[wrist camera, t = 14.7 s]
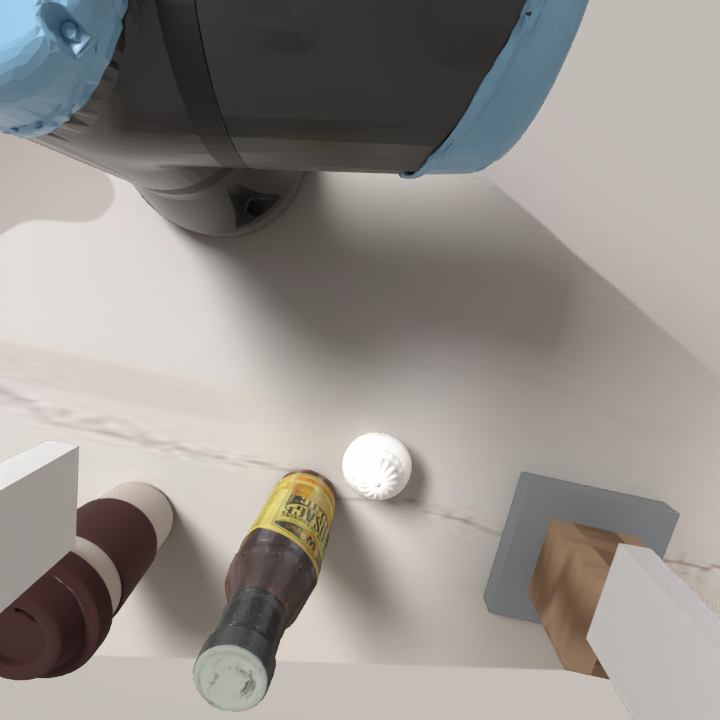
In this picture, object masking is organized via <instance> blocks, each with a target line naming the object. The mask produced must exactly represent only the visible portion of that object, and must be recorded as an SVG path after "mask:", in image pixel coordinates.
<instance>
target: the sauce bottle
mask: <svg viewBox="0 0 720 720" xmlns="http://www.w3.org/2000/svg"><path fill="white" fill-rule="evenodd" d="M334 513H335V496H334V491H333V488H332V486H331V485H330V483H329V481H328V480H327V479H326V478H325V477H323V476H322V475H320V474H318V473H316V472H314V471H311V470H299V471H295V472H291V473H289V474H287V475H286V476H285V477H284V478H283V479H282V480H281V481H279V482H278V484H277V485H276V486H275V487H274V489H273V491H272V493H271V494H270V496H269V498H268V499H267V501H266V503H265V505H264V506H263V508H262V510H261V511H260V513H259V515H258V516H257V518H256V520H255V521H254V523H253V525H252V527H251V528H250V530H249V531H248V533H247V535H246V536H245V538H244V540H243V542H242V544H241V546H240V549H239V551H238V553H237V554H236V555H235V557H234V559H233V561H232V563H231V564H230V567H229V570H228V573H227V576H226V581H225V592H226V597H227V602H228V604H227V606H226V607H225V610H224V613H223V617H222V619H221V621H220V623H219V625H218V627H217V628H216V630H215V632H214V633H213V634H212V635H210V637H209V638H208V639H207V640H206V642H205V644H204V645H203V647H202V649H201V651H200V653H199V656H198V658H197V660H196V663H195V666H194V670H193V675H194V683H195V685H196V688H197V690H198V692H199V693H200V695H201V696H202V697H203V698H204V699H205V700H206V701H207V702H208V703H209V704H210V705H212V706H214V707H216V708H218V709H220V710H224V711H232V712H241V711H245V710H248V709H250V708H252V707H254V706H256V705H257V704H258V703H259V702H260V701H261V700H262V699H263V698H264V696H265V695H266V693H267V690H268V687H269V685H270V682H271V680H272V678H273V675H274V670H275V667H276V659H275V656H276V652H277V649H278V646H279V643H280V639H281V638H282V636H283V634H284V631H285V629H287V628H288V627H290V626H291V624H293V623H294V621H295V620H296V618H297V617H298V615H299V613H300V611H301V610H302V608H303V606H304V605H305V603H306V601H307V600H308V598H309V596H310V595H311V593H312V591H313V590H314V588H315V586H316V584H317V580H318V577H319V573H320V569H321V564H322V561H323V557H324V554H325V549H326V546H327V542H328V538H329V533H330V529H331V525H332V520H333V517H334Z"/></svg>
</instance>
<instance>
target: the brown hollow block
mask: <svg viewBox="0 0 720 720" xmlns="http://www.w3.org/2000/svg"><path fill="white" fill-rule="evenodd" d="M619 543H622V544H628V545H634V546H639V547H645V548H647V547H646V546H645V545H644V544H643V543H642V542H641V541H640V540H639V539H638V538H637V537H635V536H631V535H626V534H622V533H617V532H612V531H608V530H603V529H599V528H594V527H590V526H585V525H580V524H576V523H571V522H567V521H562V520H557V519H553V518H551V521H550V524H549V527H548V530H547V533H546V536H545V539H544V542H543V545H542V548H541V551H540V554H539V557H538V560H537V563H536V566H535V569H534V572H533V576H532V579H531V582H530V585H529V588H528V591H527V594H528V596H529V598H530V600H531V602H532V604H533V606H534V608H535V610H536V612H537V614H538V616H539V618H540V620H541V622H542V624H543V626H544V628H545V630H546V632H547V634H548V636H549V638H550V640H551V642H552V644H553V646H554V648H555V650H556V652H557V654H558V656H559V658H560V660H561V662H562V664H563V667H564V669H565V670H569V671H573V672H578V673H582V674H587V675H592V676H596V677H601V678H606V679H609V677H608V675H607V673H606V672H605V670H604V668H603V666H602V665H601V663H600V661H599V660H598V658H597V656H596V654H595V653H594V651H593V649H592V648H591V646H590V644H589V642H588V641H587V639H586V637H587V634H588V631H589V628H590V625H591V623H592V620H593V617H594V614H595V611H596V608H597V605H598V602H599V599H600V596H601V593H602V591H603V588H604V585H605V582H606V579H607V576H608V573H609V570H610V567H611V564H612V562H613V559H614V556H615V553H616V550H617V547H618V544H619Z"/></svg>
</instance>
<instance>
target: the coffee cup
mask: <svg viewBox="0 0 720 720" xmlns="http://www.w3.org/2000/svg"><path fill="white" fill-rule="evenodd" d="M172 525H173V511H172V508H171V505H170V503H169V501H168V500H167V499H166V497H165V496H164V495H163V494H162V493H161V492H160V491H159V490H157V489H156V488H154V487H152V486H150V485H147V484H144V483H137V482H131V483H126V484H122V485H120V486H118V487H116V488H114V489H112V490H111V491H109V492H108V493H106V494H105V495H103V496H102V497H100V498H98V499H97V500H93V501H91V502H88V503H87V504H85V505H83V506H82V507H80V508H78V509H77V520H76V546H75V547H74V548H73V549H72V550H70V551H69V552H68V553H67V554H66V555H65V556H64V557H63V558H62V559H60V560H59V561H58V562H57V563H56V564H55V565H54V566H53V567H51V568H50V569H49V570H48V571H47V572H46V573H45V574H44V575H42V576H41V577H40V578H39V579H38V580H37V581H36V582H35V583H33V584H32V585H31V586H30V587H29V588H28V589H27V590H26V591H25V592H23V593H22V594H21V595H20V596H19V597H18V598H17V599H16V600H14V601H13V602H12V603H11V604H10V605H9V606H8V607H7V608H5V609H4V610H3V611H2V612H1V613H0V677H3V678H7V679H12V680H29V679H34V678H52V677H58V676H63V675H65V674H68V673H71V672H73V671H75V670H77V669H78V668H80V667H81V666H82V665H84V664H85V663H86V662H87V661H88V660H89V659H90V658H91V657H92V655H93V654H94V653H95V652H96V650H97V649H98V648H99V646H100V645H101V644H102V643H103V641H104V640H105V638H106V636H107V634H108V632H109V630H110V627H111V624H112V618H113V617H114V616H115V615H116V614H117V613H118V611H119V610H120V608H121V607H122V605H123V604H124V603H125V601H126V600H127V598H128V597H129V595H130V594H131V592H132V591H133V590H134V588H135V587H136V585H137V584H138V582H139V581H140V579H141V578H142V577H143V575H144V574H145V572H146V571H147V569H148V568H149V566H150V565H151V563H152V562H153V560H154V558H155V555H156V552H157V551H158V550H159V548H160V547H161V545H162V544H163V542H164V541H165V540H166V538H167V537H168V535H169V534H170V531H171V529H172Z"/></svg>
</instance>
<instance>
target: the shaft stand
mask: <svg viewBox="0 0 720 720" xmlns="http://www.w3.org/2000/svg"><path fill="white" fill-rule="evenodd" d="M679 515H680V514H679V513H678V512H676V511H675V510H674V509H672V508H671V507H670V506H668V505H667V504H666V503H664V502H659V501H654V500H650V499H645V498H640V497H636V496H631V495H627V494H622V493H617V492H613V491H608V490H603V489H599V488H594V487H590V486H585V485H580V484H576V483H571V482H566V481H562V480H557V479H553V478H548V477H543V476H539V475H534V474H529V473H525V472H522V473H521V476H520V479H519V482H518V486H517V489H516V492H515V496H514V499H513V502H512V505H511V509H510V512H509V515H508V518H507V522H506V525H505V528H504V531H503V535H502V538H501V541H500V545H499V548H498V551H497V554H496V558H495V561H494V564H493V567H492V571H491V574H490V577H489V580H488V584H487V587H486V590H485V594H484V600H485V603H486V605H487V608H488V611H489V612H490V613H495V614H499V615H504V616H509V617H513V618H518V619H522V620H527V621H532V622H536V623H541V624H542V622H541V620H540V618H539V616H538V614H537V612H536V610H535V608H534V606H533V604H532V602H531V600H530V598H529V596H528V594H527V591H528V588H529V585H530V582H531V579H532V576H533V572H534V569H535V566H536V563H537V560H538V557H539V554H540V551H541V548H542V545H543V542H544V539H545V536H546V533H547V530H548V527H549V524H550V521H551V518H553V519H557V520H562V521H567V522H571V523H576V524H580V525H585V526H590V527H594V528H599V529H603V530H608V531H612V532H617V533H622V534H626V535H631V536H635V537H637V538H638V539H639V540H640V541H641V542H642V543H643V544H644V545H645V546H646V547H647V548H650V549H652V550H653V551H654V552H655V553H656V554H657V555H658V556H659V557H660V558H661V559H663V556H664V554H665V551H666V549H667V546H668V543H669V541H670V538H671V536H672V533H673V531H674V528H675V525H676V523H677V520H678V518H679Z"/></svg>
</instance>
